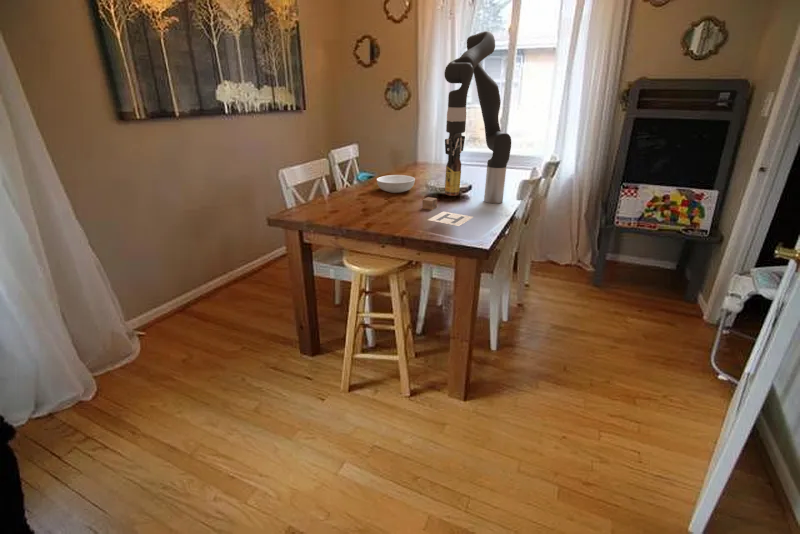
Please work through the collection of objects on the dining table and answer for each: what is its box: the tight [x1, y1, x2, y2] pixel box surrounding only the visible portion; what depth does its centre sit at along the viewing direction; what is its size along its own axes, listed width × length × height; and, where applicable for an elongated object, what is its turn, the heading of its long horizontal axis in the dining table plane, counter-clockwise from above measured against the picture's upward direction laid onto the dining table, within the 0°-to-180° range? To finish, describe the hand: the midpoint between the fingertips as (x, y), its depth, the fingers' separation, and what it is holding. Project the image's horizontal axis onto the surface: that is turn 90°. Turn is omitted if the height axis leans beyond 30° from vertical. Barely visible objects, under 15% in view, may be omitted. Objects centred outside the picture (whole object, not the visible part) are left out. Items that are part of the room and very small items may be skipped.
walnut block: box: [421, 196, 438, 211], centre depth 187 cm, size 5×5×5 cm
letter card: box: [427, 210, 474, 227], centre depth 173 cm, size 15×15×1 cm
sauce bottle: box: [444, 146, 462, 197], centre depth 165 cm, size 7×6×20 cm
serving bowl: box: [376, 174, 416, 194], centre depth 219 cm, size 21×21×7 cm
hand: (453, 163), depth 163 cm, fingers closed on sauce bottle, 5 cm apart
